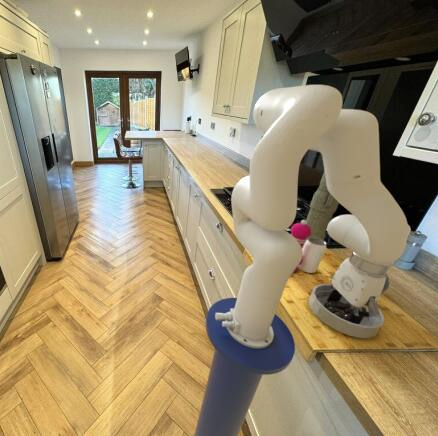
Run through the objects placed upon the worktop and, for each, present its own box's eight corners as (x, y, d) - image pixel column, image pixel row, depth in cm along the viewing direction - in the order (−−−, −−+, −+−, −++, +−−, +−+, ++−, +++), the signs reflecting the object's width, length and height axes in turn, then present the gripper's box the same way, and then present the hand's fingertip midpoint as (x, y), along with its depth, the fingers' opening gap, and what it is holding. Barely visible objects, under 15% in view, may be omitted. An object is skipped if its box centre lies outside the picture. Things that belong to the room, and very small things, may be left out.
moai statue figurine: (300, 250, 100) (331, 168, 85) (293, 236, 110) (319, 162, 95) (324, 254, 98) (360, 171, 82) (314, 240, 108) (345, 164, 93)
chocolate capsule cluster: (333, 322, 65) (336, 318, 65) (317, 303, 72) (319, 298, 71) (366, 324, 65) (369, 319, 65) (347, 304, 72) (349, 300, 71)
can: (294, 267, 89) (304, 240, 83) (298, 260, 93) (309, 234, 88) (313, 276, 85) (325, 248, 79) (317, 268, 89) (329, 241, 83)
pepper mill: (273, 261, 92) (288, 215, 83) (292, 262, 92) (309, 216, 83) (282, 273, 86) (299, 224, 77) (302, 274, 85) (322, 225, 77)
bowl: (331, 338, 62) (338, 326, 60) (297, 293, 76) (301, 283, 74) (393, 340, 62) (401, 328, 60) (347, 295, 76) (352, 284, 74)
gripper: (330, 244, 69) (310, 290, 76) (383, 285, 53) (351, 338, 61) (356, 245, 69) (333, 291, 76) (417, 286, 53) (380, 339, 61)
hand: (341, 312), depth 68 cm, fingers closed on chocolate capsule cluster, 7 cm apart
